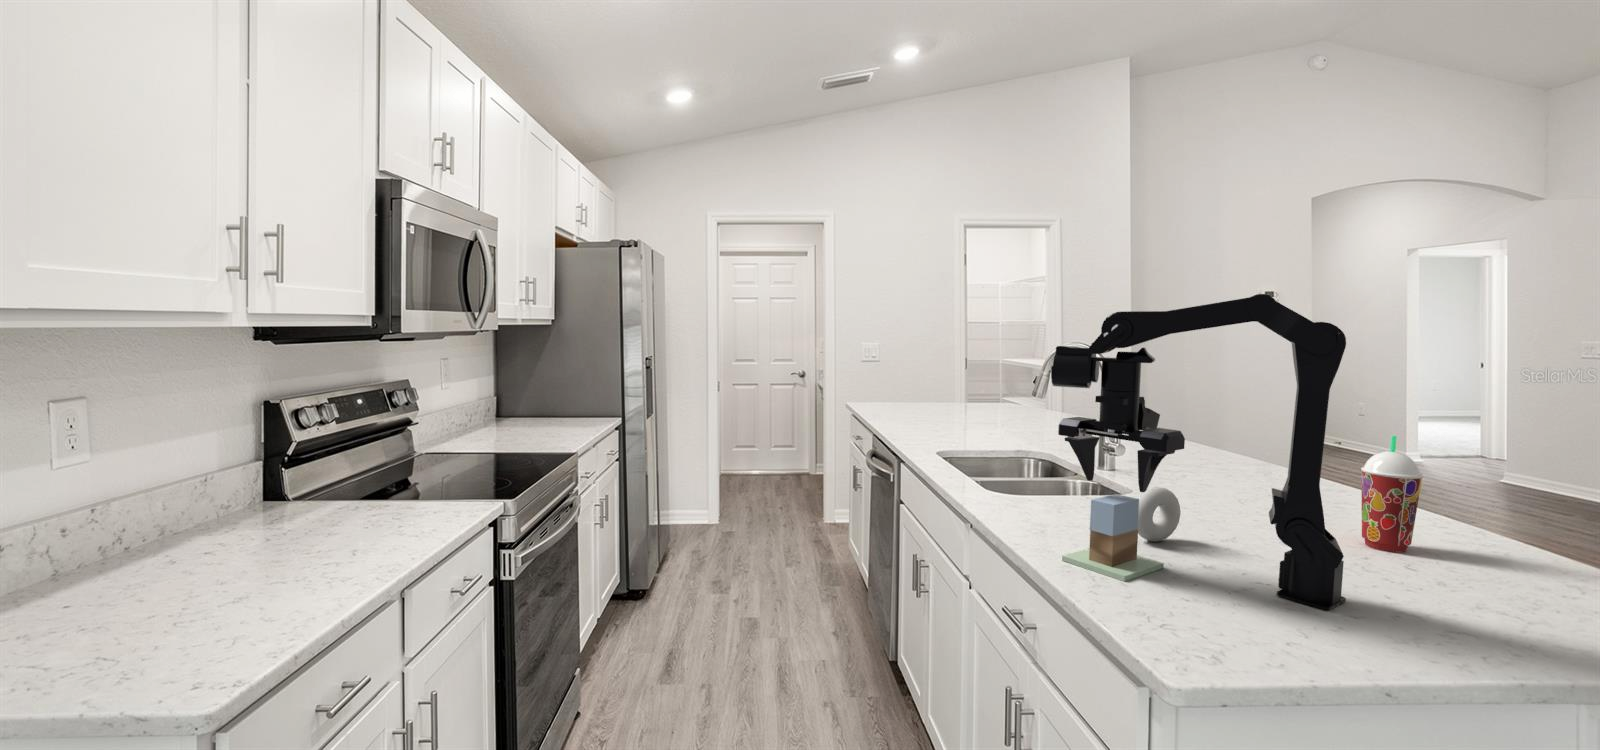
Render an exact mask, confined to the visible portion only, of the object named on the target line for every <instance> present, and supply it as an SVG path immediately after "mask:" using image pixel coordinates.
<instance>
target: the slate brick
mask: <svg viewBox="0 0 1600 750" xmlns="http://www.w3.org/2000/svg"><path fill="white" fill-rule="evenodd" d="M1138 511H1139V499H1138V498H1135V497H1132V496H1131V497H1130V496H1127V495H1123V494H1117V493H1115V494H1111V495H1105V496H1102V497H1097V498H1092V499H1091V500H1090V516H1089V517H1090V518H1089V520H1090V521H1089V531H1090V530H1092V531H1096V532H1099V533H1103V534H1106V535H1110V536H1116V535H1119V534H1123V533H1126V532H1130V531H1133V530H1137V529H1138Z"/></svg>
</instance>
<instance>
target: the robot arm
mask: <svg viewBox="0 0 1600 750" xmlns="http://www.w3.org/2000/svg"><path fill="white" fill-rule="evenodd" d="M1252 322H1254V323H1255V322H1256V323H1259V324H1260V325H1262V326H1264V327H1265V328H1267V329H1268V330H1270V331H1271V332H1273V333H1275V334H1277V335H1278V336H1280V337H1281V338H1284V339H1285V340H1287V341H1288V342H1290V343H1291V349H1292V359H1293V367H1294V373H1295V380H1296V381H1295V382H1296V394H1295V400H1294V401H1295V402H1294V413H1293V420H1292V422H1293V423H1292V431H1291V441H1290V452H1289V461H1288V468H1287V469H1288V471H1287V477H1286V480H1285V483H1284V485H1283V488H1282V489H1281V490H1280V489H1279V488H1274V487H1273V488H1272V487H1271V497H1272V498H1271V499H1272V504H1271V508H1270V509H1269V511H1268V517H1269V521H1270V522H1269V523H1270V524H1271V525H1274V528H1275V533H1276V535H1277V537H1278V539H1279V540H1280V541H1281V542H1282V543H1283V544H1284V545H1286V546H1287V547H1289V548H1290V550H1287V551H1285V552H1284V555H1283V557H1284V558H1283V559H1282V560H1281V561H1279V569H1278V571H1279V572H1278V588H1279V589H1280V590H1278V591H1276V596H1277V597H1281V598H1284V599H1286V600H1287V599H1288V600H1291V601H1295V602H1297V603H1301V604H1304V605H1308V606H1311V607H1315V608H1318V609H1321V610H1324V611H1325V610H1326V611H1329V610H1332V609H1333V608H1335V607H1338V606H1339V605H1341V604H1343V603H1345V602H1346V601H1347V598H1346V597H1345V596H1342V589H1343V576H1344V575H1343V573H1344V560H1343V559H1344V557H1345V556H1344V553H1343V551H1342V549H1341V547H1340V544H1339V543H1338V540H1337V538H1335V536H1334V535H1332V534H1331V532H1330V531H1328V530H1327V528H1326V525H1325V524H1326V523H1325V518H1324V517H1325V515H1324V508H1323V500H1322V495H1321V487H1320V482H1321V475H1322V474H1321V473H1322V465H1323V456H1324V447H1325V438H1326V427H1327V420H1328V419H1327V417H1328V409H1329V401H1330V391H1331V387H1332V385H1333V383H1334V380H1335V377H1336V375H1337V372H1339V371H1338V370H1339V368H1340V364H1341V363H1342V362H1341V361H1342V359H1343V356H1344V353H1345V350H1346V347H1347V338H1346V335H1345V332H1344V331H1343V330H1342V329H1341V328H1339V327H1338V326H1337V325H1335V324H1333V323H1331V322H1325V321H1315V322H1314V321H1313V320H1310V319H1309V318H1307V317H1305V316H1303V315H1302V314H1300V313H1298V312H1296V311H1294V310H1293V309H1291V308H1289V307H1287V306H1286V305H1284V304H1282V303H1280V302H1278V301H1277V300H1275V298H1274V297H1272V296H1271V295H1268V294H1266V293H1258V294H1255V295H1253V296H1252V295H1251V296H1249V297H1245V298H1237V299H1233V300H1231V299H1230V300H1227V301H1226V300H1225V301H1220V302H1214V303H1206V304H1201V305H1195V306H1190V307H1184V308H1178V309H1171V310H1165V311H1164V310H1163V311H1162V310H1161V311H1155V310H1153V311H1149V310H1148V311H1147V310H1145V311H1142V310H1141V311H1138V310H1137V311H1116V312H1112V313H1110V314H1109V315H1107V317H1106V318H1105V319H1104V320H1103V322H1102V324H1101V330H1100V331H1101V333H1100V334H1099V336H1098V337H1097V338H1096V339H1095V340H1094V341H1093V342H1091V344H1090V345H1089V347H1070V346H1067V345H1058V346H1056V347H1055V354H1054V356H1053V361H1052V365H1051V369H1050V375H1051V383H1052V386H1053V387H1062V388H1076V389H1077V388H1080V389H1090V388H1091V386H1092V383H1098V381H1099V375H1100V362H1101V379H1100V380H1101V381H1100V395H1095V401H1094V402H1095V403H1099V419H1098V420H1097V419H1096V418H1089V417H1081V416H1076V417H1067V418H1066V417H1065V418H1062V419H1061V420H1060V422H1059V423H1058V432H1057V434H1058V435H1059V436H1063V437H1064V442H1067V443H1069V445H1070V447H1071V448H1072V451H1073V452H1074V455H1075V456H1076V458H1077V460H1078V461H1079V464H1080V466H1081V467H1080V468H1082V472H1083V474H1084V476H1085V479H1086V480H1087V481H1089V482H1090V481H1091V482H1092V481H1094V475H1095V465H1096V464H1095V459H1096V446H1097V445H1098V442H1099V440H1100V438H1101V437H1104V438H1110V439H1117V440H1124V441H1129V442H1135V443H1139V444H1140V446H1141V447H1142V449H1138V450H1137V476H1138V477H1137V479H1138V480H1137V481H1138V483H1137V484H1138V489H1139V492H1140V493H1143V492H1145V491H1146V490H1147V489H1149V488H1148V487H1149V485H1150V483H1151V481H1152V479H1153V477H1154V475H1155V473H1156V470H1157V469H1158V467H1159V465H1160V464H1161V462H1162V461H1163V459H1165V457H1166V456H1167V455H1173V454H1175V452H1176V451H1180V450H1184V449H1185V440H1186V438H1185V436H1184V434H1183V432H1182V431H1181V430H1177V429H1170V428H1164V427H1163V428H1162V427H1158V426H1159V421H1160V417H1161V414H1160V413H1158V412H1156V411H1154V410H1152V409H1151V408H1148V407H1146V405H1145V404H1146V399H1145V397H1144V396H1140V395H1141V373H1142V372H1141V370H1142V364H1152V363H1154V362H1155V361H1156V358H1155V357H1154V356H1153V355H1151V354H1150V353H1149V351H1148V350H1147V349H1146V348H1147V347H1141V348H1140V349H1139V350H1138V351H1117V353H1116V357H1104V356H1103V357H1102V356H1100V357H1099V356H1098V357H1097V355H1101V354H1105V353H1106V354H1107V353H1110V352H1112V351H1113V350H1115V349H1125V348H1130V347H1133V346H1137V345H1140V344H1143V343H1146V342H1149V341H1152V340H1155V339H1159V338H1161V337H1164V336H1168V335H1173V334H1177V333H1185V332H1191V331H1198V330H1199V331H1200V330H1205V329H1212V328H1217V327H1224V326H1231V325H1232V326H1233V325H1237V324H1244V323H1252ZM1109 430H1111V431H1109ZM1112 431H1113V432H1112Z"/></svg>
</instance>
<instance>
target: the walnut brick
mask: <svg viewBox="0 0 1600 750" xmlns="http://www.w3.org/2000/svg"><path fill="white" fill-rule="evenodd" d="M1089 532H1090V533H1089V548H1090V549H1089V560H1091V561H1094V562H1097V563H1100V564H1104V565H1107V566H1110V567H1114V566H1117V565H1120V564H1123V563H1126V562H1129V561H1132V560H1136V559H1137V555H1138V541H1139V540H1138V538H1139V534H1138V529H1137V530H1133V531H1130V532H1126V533H1123V534H1119V535H1116V536H1110V535H1106V534H1103V533H1099V532H1096V531H1092V530H1090V529H1089Z"/></svg>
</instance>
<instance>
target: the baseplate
mask: <svg viewBox="0 0 1600 750" xmlns="http://www.w3.org/2000/svg"><path fill="white" fill-rule="evenodd" d="M1089 549H1090V547H1089V548H1086V549H1081V550H1078V551H1074V552H1071V553H1070V552H1069V553H1067V554H1064V555H1061V556H1062V557H1061V561H1063V562H1064V563H1069V564H1072V565H1074V566H1077V567H1080V568H1082V569H1083V568H1084V569H1085V570H1086V569H1087V570H1090V571H1091V572H1095V573H1098V574H1101V575H1104V576H1107V577H1110V578H1113V579H1116V580H1119V581H1121V582H1126V581H1130V580H1132V579H1135V578H1138V577H1142V576H1145V575H1147V574H1150V573H1153V572H1157V571H1159V570H1161V569H1163V568H1164V565H1165V563H1164V562H1161V561H1157V560H1155V559H1151V558H1148V557H1144V556H1141V555H1138V554H1137V559H1136V560H1132V561H1129V562H1126V563H1123V564H1120V565H1117V566H1114V567H1110V566H1107V565H1104V564H1100V563H1097V562H1094V561H1091V560H1089Z"/></svg>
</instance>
